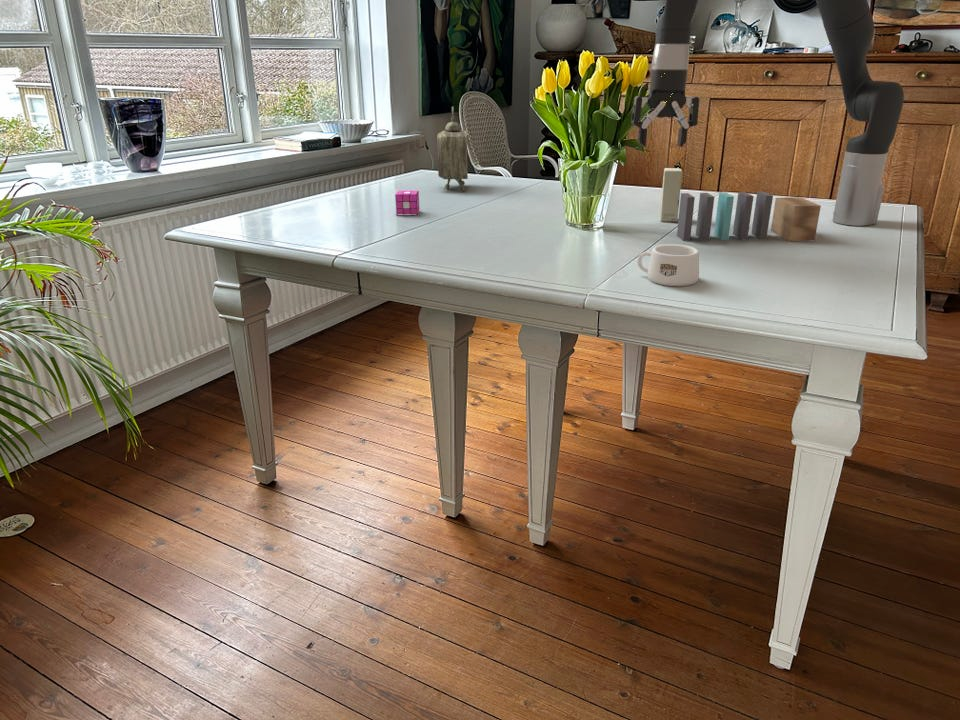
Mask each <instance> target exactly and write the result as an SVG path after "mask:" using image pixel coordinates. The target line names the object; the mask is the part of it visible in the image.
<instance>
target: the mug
mask: <svg viewBox="0 0 960 720" xmlns="http://www.w3.org/2000/svg"><path fill="white" fill-rule="evenodd" d="M646 256H647V257H648V256H649V258H650V259H649V264H648V266H647V267H648V268H646V266H643V263H642V260H643V259H644V257H646ZM637 266H638V267H639V269H640V270H641V271H643V272H645V273H647V275H646V277H647V278H648V279H649V280H650V281H651V282H652V283H654V284H658V285H661V286H667V287H668V286H669V287H687V286H693V285H694V284H696V283H697V282H698V281H699V279H700V278H699V277H700V251H699V250H698V249H697V248H695V247H694V246H690V245H686V244H685V245H684V244H677V243H676V244H674V243H673V244H671V243H670V244H669V243H668V244H659V245H656V246H654V247H652V249H651V251H644V252H642V253H640V254H639V255H638V257H637Z"/></svg>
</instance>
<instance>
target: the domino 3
mask: <svg viewBox="0 0 960 720" xmlns="http://www.w3.org/2000/svg"><path fill="white" fill-rule="evenodd" d="M734 199H735V196H734V195H732V194H730V193H728V192H725V191H724V192H718V198H717V207H716V214H715V215H716V216H715V222H714V223H715V225H714V232H713V236H715V237H717V238H718V239H719V240H721V241H729V237H730V230H731V222H732V221H731V220H732V214H733V207H734V201H735V200H734Z"/></svg>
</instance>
